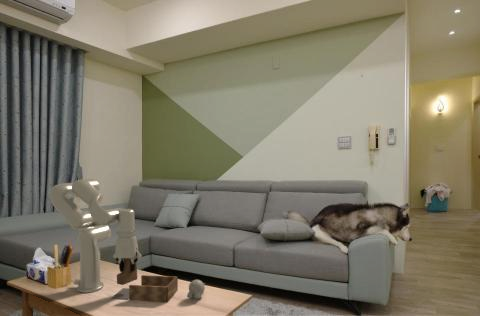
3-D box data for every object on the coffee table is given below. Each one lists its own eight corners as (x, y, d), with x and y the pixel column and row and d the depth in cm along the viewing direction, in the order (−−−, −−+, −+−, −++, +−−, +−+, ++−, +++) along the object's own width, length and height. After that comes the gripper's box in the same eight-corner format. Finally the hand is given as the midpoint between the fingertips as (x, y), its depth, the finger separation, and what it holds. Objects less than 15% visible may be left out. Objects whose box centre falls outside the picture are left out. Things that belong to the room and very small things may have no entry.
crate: (129, 300, 152) (129, 285, 152) (142, 288, 166) (142, 275, 166) (167, 302, 149) (167, 287, 149) (177, 290, 163) (177, 276, 163)
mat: (110, 298, 154) (110, 298, 154) (123, 288, 166) (123, 288, 166) (128, 299, 153) (128, 298, 153) (139, 289, 165) (139, 288, 165)
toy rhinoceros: (208, 299, 157) (211, 281, 160) (197, 299, 147) (201, 280, 150) (195, 297, 160) (198, 279, 163) (184, 297, 149) (187, 278, 153)
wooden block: (122, 285, 154) (121, 247, 155) (116, 284, 157) (115, 246, 157) (137, 279, 162) (136, 243, 162) (131, 278, 164) (130, 242, 165)
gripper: (106, 235, 157) (107, 273, 157) (139, 236, 155) (140, 274, 154) (114, 232, 164) (115, 268, 164) (146, 232, 162) (147, 269, 162)
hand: (127, 270), depth 159 cm, fingers closed on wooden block, 5 cm apart
